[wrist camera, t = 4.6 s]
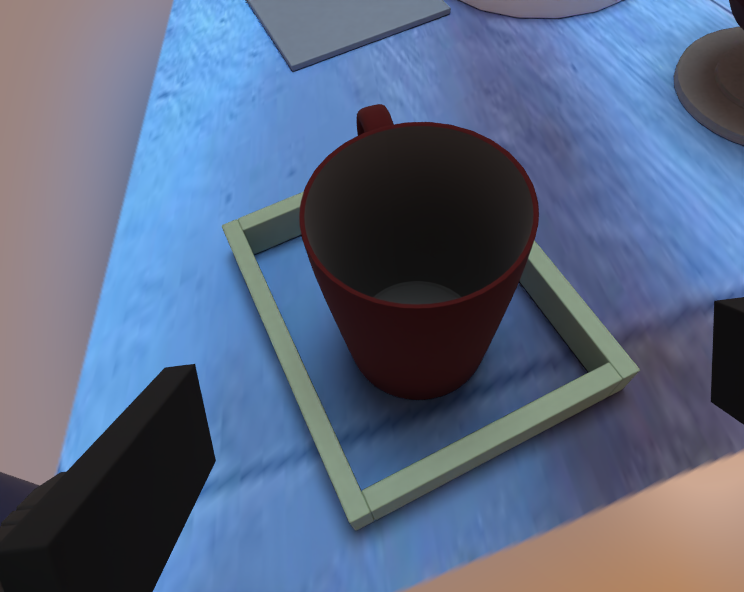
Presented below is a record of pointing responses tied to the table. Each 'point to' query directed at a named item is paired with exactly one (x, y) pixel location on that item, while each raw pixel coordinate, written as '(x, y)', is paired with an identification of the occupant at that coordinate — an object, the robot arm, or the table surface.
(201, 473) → the robot arm
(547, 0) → the container
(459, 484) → the table surface
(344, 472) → the green rectangular frame
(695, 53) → the mate gourd
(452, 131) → the mug
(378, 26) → the mat
